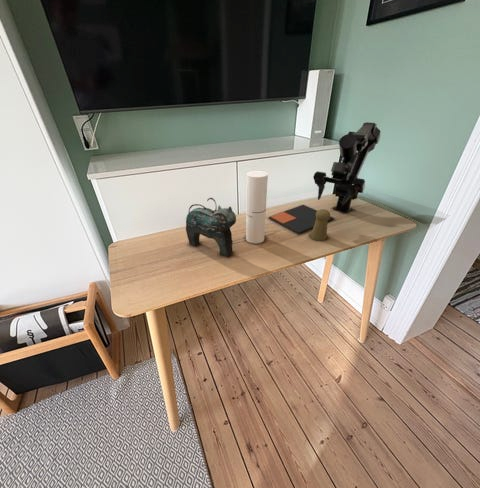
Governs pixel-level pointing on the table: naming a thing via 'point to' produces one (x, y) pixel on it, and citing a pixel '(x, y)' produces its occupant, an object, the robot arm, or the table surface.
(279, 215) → the rubber mat
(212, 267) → the table surface
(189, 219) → the ceramic cat
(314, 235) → the cork
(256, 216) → the cylindrical container
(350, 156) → the robot arm
